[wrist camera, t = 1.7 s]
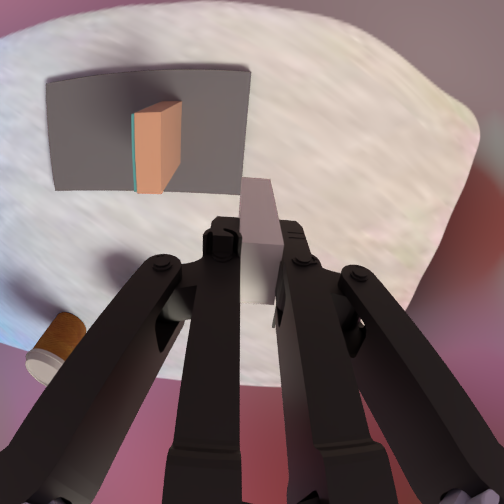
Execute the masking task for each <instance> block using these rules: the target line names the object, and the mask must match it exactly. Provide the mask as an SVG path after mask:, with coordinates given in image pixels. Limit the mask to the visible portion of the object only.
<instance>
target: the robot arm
mask: <svg viewBox="0 0 504 504" xmlns="http://www.w3.org/2000/svg"><path fill="white" fill-rule="evenodd" d="M275 296H276V308H275V314H274V319H273V324H272V328H275V324H276V334H277V345H278V355H279V366H280V376H281V387H282V398H283V410H284V421H285V432H286V445H287V456H288V469H289V482H288V487H287V504H398V500H397V495H396V490H395V485H394V481H393V476H392V472H391V467H390V463H389V459H388V455H387V452H386V450H385V448H384V447H383V446H382V444H380V443H378V442H375V441H373V440H372V438H371V436H370V433H369V429H368V425H367V421H366V417H365V413H364V409H363V405H362V401H361V397H360V393H359V390H360V392H361V394H362V396H363V398H364V400H365V401H366V403H367V405H368V407H369V409H370V411H371V412H372V414H373V416H374V418H375V420H376V422H377V423H378V425H379V427H380V429H381V431H382V433H383V435H384V437H385V438H386V440H387V442H388V444H389V446H390V448H391V449H392V451H393V453H394V455H395V457H396V459H397V461H398V463H399V465H400V467H401V469H402V471H403V472H404V474H405V476H406V478H407V480H408V482H409V484H410V486H411V488H412V489H413V491H414V493H415V494H416V496H417V498H418V499H419V500H420V501H421V503H422V504H504V448H503V446H501V445H500V444H499V443H498V441H497V440H496V438H495V436H494V435H493V433H492V432H491V430H490V428H489V427H488V425H487V424H486V422H485V421H484V419H483V417H482V416H481V415H480V413H479V411H478V410H477V408H476V407H475V405H474V404H473V402H472V401H471V399H470V398H469V397H468V395H467V394H466V392H465V391H464V389H463V388H462V386H460V384H459V382H458V381H457V379H456V378H455V377H454V375H453V374H452V373H451V371H450V370H449V368H448V367H447V365H446V364H445V363H444V361H443V360H442V359H441V357H440V356H439V355H438V353H437V352H436V351H435V349H434V348H433V347H432V345H431V344H430V343H429V341H428V340H427V339H426V338H425V336H424V335H423V334H422V332H421V331H420V330H419V328H418V327H417V326H416V325H415V323H414V322H413V321H412V320H411V318H410V317H409V316H408V315H407V314H406V312H405V311H404V310H403V308H402V307H401V306H400V305H399V303H398V302H397V301H396V300H395V299H394V297H393V296H392V295H391V294H390V293H389V291H388V290H387V289H386V288H385V287H384V285H383V284H382V283H381V282H380V281H379V279H378V278H377V277H376V276H375V275H374V274H373V273H372V272H371V271H370V270H369V269H367V268H365V267H363V266H359V265H348V266H345V267H344V268H343V269H342V271H341V273H337V272H333V271H330V270H327V269H324V268H322V266H321V263H320V261H319V260H318V258H317V257H315V256H314V255H312V254H311V252H310V249H309V246H308V243H307V240H306V237H305V234H304V231H303V228H302V226H301V225H300V224H299V223H298V222H296V221H289V220H279V218H278V213H277V208H276V203H275V199H274V194H273V189H272V185H271V180H270V179H261V178H248V177H242V181H241V193H240V206H239V218H236V217H221V216H217V217H216V218H215V219H214V220H213V221H212V223H211V228H210V229H208V230H206V231H205V232H204V234H203V257H202V258H201V259H199V260H197V261H195V262H191V263H186V264H181V262H180V260H179V259H178V258H177V257H175V256H173V255H169V254H159V255H155V256H152V257H150V258H148V259H147V260H146V261H145V262H144V263H143V264H142V265H141V266H140V267H139V269H138V270H137V271H136V272H135V273H134V275H133V276H132V277H131V278H130V279H129V280H128V282H127V283H126V284H125V285H124V286H123V288H122V289H121V290H120V291H119V292H118V294H117V295H116V296H115V297H114V299H113V300H112V301H111V302H110V303H109V305H108V306H107V307H106V308H105V310H104V311H103V312H102V313H101V315H100V316H99V317H98V318H97V320H96V321H95V322H94V324H93V325H92V326H91V327H90V329H89V330H88V331H87V333H86V334H85V335H84V336H83V338H82V339H81V340H80V342H79V343H78V344H77V346H76V347H75V348H74V350H73V351H72V352H71V354H70V355H69V356H68V358H67V359H66V360H65V362H64V363H63V365H62V366H61V367H60V369H59V370H58V371H57V373H56V374H55V376H54V377H53V378H52V380H51V381H50V383H49V384H48V386H47V387H46V388H45V390H44V391H43V393H42V394H41V396H40V397H39V399H38V400H37V402H36V403H35V405H34V406H33V408H32V409H31V411H30V412H29V414H28V415H27V417H26V418H25V420H24V421H23V423H22V425H21V426H20V428H19V429H18V431H17V432H16V434H15V436H14V437H13V439H12V440H11V442H10V444H9V445H8V446H7V447H6V448H5V449H3V450H2V451H1V452H0V504H91V503H92V501H93V499H94V498H95V496H96V494H97V492H98V491H99V489H100V487H101V485H102V483H103V481H104V478H105V476H106V475H107V473H108V470H109V468H110V466H111V464H112V462H113V460H114V458H115V456H116V454H117V452H118V450H119V448H120V446H121V444H122V442H123V440H124V438H125V436H126V434H127V432H128V430H129V428H130V426H131V424H132V422H133V421H134V419H135V417H136V415H137V413H138V411H139V409H140V407H141V405H142V403H143V401H144V399H145V397H146V395H147V393H148V391H149V389H150V388H151V386H152V384H153V382H154V380H155V378H156V376H157V374H158V372H159V370H160V368H161V367H162V365H163V363H164V361H165V359H166V357H167V355H168V353H169V351H170V350H171V348H172V346H173V344H174V342H175V340H176V338H177V336H178V335H179V333H180V331H181V329H182V327H183V325H184V322H185V320H188V319H191V323H190V329H189V335H188V341H187V348H186V354H185V360H184V367H183V374H182V380H181V387H180V395H179V402H178V409H177V417H176V425H175V433H174V441H173V444H172V446H171V447H170V448H169V452H168V455H167V461H166V469H165V477H164V487H163V497H162V504H250V503H247V502H242V481H241V480H242V476H241V474H242V472H241V453H240V443H239V442H240V441H239V440H240V438H239V437H240V436H239V434H240V432H239V431H240V428H239V427H240V426H239V425H240V424H239V422H240V418H239V416H240V415H239V414H240V413H239V412H240V410H239V405H240V403H239V402H240V400H239V398H240V397H239V396H240V394H239V393H240V387H239V386H240V303H249V304H269V305H274V301H275ZM361 319H362V321H363V322H364V324H365V326H364V325H363V324H362V323H361V321H360V320H361Z"/></svg>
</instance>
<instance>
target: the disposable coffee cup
mask: <svg viewBox="0 0 504 504" xmlns="http://www.w3.org/2000/svg"><path fill="white" fill-rule="evenodd" d="M85 334H86V327H85V325H84V323H83V322H82V321H81V320H80V319H79V318H77V317H76V316H74V315H73V314H70V313H67V312H61V313H59V314H58V315H57V316H56V318H55V319H54V320H53V322H52V323H51V324H50V326H49V327H48V328H47V330H46V331H45V332H44V334H43V335H42V336H41V338H40V339H39V341H38V342H37V343H36V345H35V346H34V348H33V349H32V350H30V351H29V352H28V353H27V354H26V363H25V364H26V368H27V370H28V372H29V373H30V374H31V375H32V376H33V377H34V378H35V379H36V380H37V381H39V382H40V383H42V384H43V385H45V386H48V384H49V383H50V381H51V380H52V378H53V377H54V376H55V374H56V373H57V371H58V370H59V369H60V367H61V366H62V365H63V363H64V362H65V360H66V359H67V358H68V356H69V355H70V354H71V352H72V351H73V350H74V348H75V347H76V346H77V344H78V343H79V342H80V340H81V339H82V338H83V336H84V335H85Z"/></svg>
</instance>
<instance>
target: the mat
mask: <svg viewBox="0 0 504 504" xmlns="http://www.w3.org/2000/svg"><path fill="white" fill-rule="evenodd" d="M250 81H251V72H246V71H230V70H200V69H179V70H149V71H134V72H122V73H112V74H103V75H95V76H88V77H81V78H75V79H69V80H63V81H58V82H53V83H48V84H46V104H47V123H48V136H49V147H50V156H51V164H52V172H53V179H54V185H55V191H71V190H120V191H134V179H133V161H132V127H131V114H133V113H135V112H137V111H139V110H142V109H144V108H146V107H149V106H151V105H153V104H156V103H158V102H161V101H182V115H181V160H180V165H179V166H178V168H177V169H176V171H175V173H174V174H173V176H172V178H171V179H170V181H169V183H168V184H167V186H166V188H165V189H164V192H191V193H211V194H229V195H240V193H241V181H242V171H243V159H244V147H245V136H246V124H247V113H248V102H249V91H250Z"/></svg>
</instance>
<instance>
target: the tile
mask: <svg viewBox="0 0 504 504" xmlns="http://www.w3.org/2000/svg"><path fill="white" fill-rule="evenodd" d="M181 115H182V101H161V102H158V103H156V104H153V105H151V106H149V107H146V108H144V109H142V110H139V111H137V112H135V113H133V114H131V127H132V161H133V179H134V192H137V193H142V194H162V193H163V191H164V189H165V188H166V186H167V184H168V183H169V181H170V179H171V178H172V176H173V174H174V173H175V171H176V169H177V168H178V166H179V165H180V160H181Z"/></svg>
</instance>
